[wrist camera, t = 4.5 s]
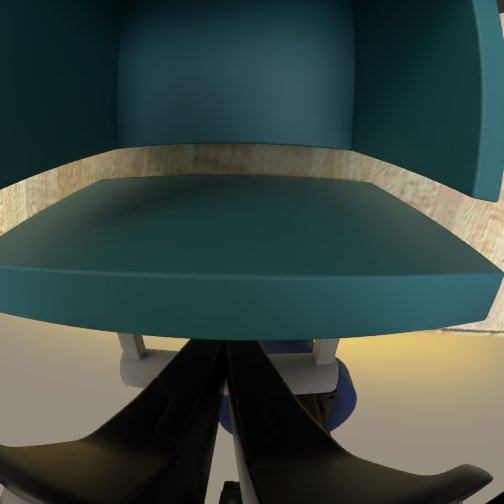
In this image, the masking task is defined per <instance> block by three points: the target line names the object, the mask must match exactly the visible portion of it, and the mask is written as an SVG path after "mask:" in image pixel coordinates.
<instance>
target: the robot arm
mask: <svg viewBox="0 0 504 504" xmlns="http://www.w3.org/2000/svg"><path fill="white" fill-rule="evenodd" d="M226 375H227V389H228V398H229V406H230V415H231V423H232V431H233V439H234V446H235V453H236V461H237V468H238V475H239V481H240V482H234V481H225V483H224V487H223V491H222V492H221V496H220V500H219V504H463V503H462V501H464V500H465V499H467V498H468V497H470V496H471V495H473V494H474V493H476V492H477V491H479V490H480V489H482V488H483V487H485V486H486V485H487V484H489V483H490V482H491V481H492V480H493V477H492V476H491V475H490V474H489V473H488V472H486V471H485V470H483V469H481V468H479V467H476V466H473V465H469V464H463V465H460V466H458V467H455V468H453V469H451V470H449V471H447V472H444V473H441V474H438V475H416V474H411V473H408V472H404V471H400V470H396V469H393V468H390V467H386V466H383V465H380V464H376V463H373V462H370V461H367V460H364V459H361V458H358V457H356V456H354V455H352V454H351V453H349V452H348V451H346V450H345V449H344V448H342V447H341V446H340V445H339V444H338V443H337V442H336V441H335V440H334V439H333V438H332V437H331V434H330V429H329V425H328V420H329V417H330V415H331V413H332V410H333V408H334V405H335V403H336V400H337V398H338V393H337V391H336V390H334V391H332V392H324V393H311V394H293V393H292V391H291V390H290V388H289V387H288V385H287V384H286V382H284V380H283V378H282V377H281V375H280V374H279V372H278V370H277V369H276V367H275V366H274V364H273V363H272V361H271V360H270V358H269V357H268V355H267V354H266V352H265V351H264V349H263V347H262V346H261V344H260V343H259V341H251V340H209V339H190V340H189V341H188V342H187V343H186V344H185V345H184V347H183V348H182V349H181V350H180V351H179V352H178V353H177V354H176V355H175V356H174V358H173V359H172V360H171V361H170V362H169V363H168V364H167V365H166V366H165V367H164V369H163V370H162V371H161V372H160V373H159V374H158V375H157V377H155V378H154V379H153V380H152V382H151V383H150V384H149V385H148V386H147V387H146V388H145V389H144V390H143V391H142V392H141V393H140V394H139V395H138V396H137V397H136V398H134V399H133V400H132V401H131V402H130V403H129V404H128V405H127V406H125V407H124V408H123V409H122V410H121V411H120V412H118V413H117V414H116V415H115V416H113V417H112V418H111V419H110V420H108V421H107V422H106V423H105V424H104V425H102V426H101V427H100V428H99V429H97V430H96V431H94V432H93V433H92V434H90V435H88V436H86V437H84V438H82V439H79V440H75V441H70V442H62V443H55V444H47V445H37V446H26V447H8V446H3V445H0V484H2V485H3V486H4V489H3V491H2V494H1V497H0V504H204V503H205V501H204V500H205V496H206V491H207V485H208V480H209V474H210V468H211V463H212V457H213V452H214V446H215V440H216V435H217V429H218V423H219V418H220V412H221V407H222V401H223V395H224V390H225V384H226ZM485 504H504V491H503V492H502V493H501V494H499V495H498V496H496V497H495V498H493V499H492V500H490V501H489V502H487V503H485Z"/></svg>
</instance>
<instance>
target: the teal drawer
mask: <svg viewBox="0 0 504 504" xmlns="http://www.w3.org/2000/svg"><path fill="white" fill-rule="evenodd" d="M210 143H243V144H276V145H294V146H308V147H321V148H331V149H341V150H350V151H354V152H357V153H361V154H364V155H367V156H370V157H373V158H376V159H379V160H382V161H385V162H387V163H390V164H393V165H396V166H398V167H401V168H404V169H407V170H409V171H412V172H414V173H417V174H419V175H422V176H424V177H427V178H429V179H432V180H434V181H436V182H439V183H441V184H443V185H446V186H448V187H450V188H452V189H455V190H457V191H459V192H461V193H463V194H465V195H468V196H470V197H472V198H475V199H480V200H485V201H490V202H498V199H499V194H500V189H501V183H502V177H503V170H504V38H503V31H502V26H501V20H500V15H499V10H498V6H497V2H496V0H0V190H1V189H3V188H5V187H8V186H10V185H12V184H15V183H17V182H20V181H22V180H24V179H27V178H30V177H32V176H35V175H37V174H40V173H43V172H45V171H48V170H51V169H54V168H57V167H59V166H62V165H65V164H68V163H71V162H74V161H78V160H81V159H84V158H87V157H91V156H94V155H97V154H101V153H104V152H108V151H112V150H115V149H122V148H133V147H145V146H159V145H177V144H210ZM503 277H504V272H503V271H502V270H501V269H499V268H498V267H497V266H496V265H494V264H493V263H492V262H491V261H489V260H488V259H487V258H485V257H484V256H483V255H482V254H480V253H479V252H478V251H476V250H475V249H474V248H472V247H471V246H470V245H468V244H467V243H465V242H464V241H463V240H461V239H460V238H458V237H457V236H456V235H454V234H453V233H451V232H450V231H448V230H447V229H446V228H444V227H443V226H441V225H440V224H438V223H437V222H435V221H434V220H432V219H431V218H429V217H427V216H426V215H424V214H423V213H421V212H420V211H418V210H416V209H415V208H413V207H412V206H410V205H408V204H407V203H405V202H403V201H402V200H400V199H398V198H397V197H395V196H393V195H392V194H390V193H388V192H386V191H385V190H383V189H381V188H379V187H378V186H376V185H374V184H372V183H369V182H358V181H347V180H335V179H321V178H306V177H286V176H258V175H180V176H152V177H133V178H117V179H104V180H99V181H97V182H95V183H93V184H91V185H89V186H87V187H85V188H83V189H81V190H79V191H77V192H75V193H73V194H71V195H69V196H67V197H65V198H64V199H62V200H60V201H58V202H56V203H54V204H53V205H51V206H49V207H47V208H46V209H44V210H42V211H40V212H39V213H37V214H35V215H33V216H32V217H30V218H28V219H27V220H25V221H24V222H22V223H20V224H19V225H17V226H16V227H14V228H12V229H11V230H9V231H8V232H6V233H5V234H3V235H2V236H0V312H1V313H5V314H9V315H14V316H18V317H23V318H29V319H33V320H38V321H44V322H49V323H55V324H61V325H67V326H73V327H80V328H86V329H94V330H101V331H109V332H117V334H118V337H119V341H120V344H121V347H122V349H123V353H122V356H121V361H120V374H121V378H122V381H123V383H124V384H125V385H127V386H132V387H139V388H146V387H147V386H148V385H149V384H150V383H151V382H152V380H153V379H154V378H155V377H157V375H158V374H159V373H160V372H161V371H162V370H163V369H164V367H165V366H166V365H167V364H168V363H169V362H170V361H171V360H172V359H173V358H174V356H175V355H176V354H177V353H178V352H179V351H167V350H156V349H145V345H144V342H143V338H142V335H147V336H159V337H173V338H189V339H209V340H251V341H273V340H314V339H315V342H314V347H313V352H312V353H299V354H267V355H268V357H269V358H270V360H271V361H272V363H273V364H274V366H275V367H276V369H277V370H278V372H279V374H280V375H281V377H282V378H283V380H284V382H286V384H287V385H288V387H289V388H290V390H291V391H292V393H293V394H311V393H324V392H332V391H334V390H335V388H336V385H337V381H338V364H337V360H336V357H335V353H336V350H337V346H338V342H339V339H340V338H350V337H363V336H376V335H387V334H396V333H405V332H414V331H421V330H429V329H436V328H443V327H449V326H455V325H461V324H467V323H473V322H478V321H483V320H485V319H486V317H487V315H488V313H489V311H490V309H491V306H492V304H493V302H494V299H495V297H496V295H497V292H498V290H499V287H500V285H501V282H502V279H503ZM224 395H228V389H227V375H226V384H225V390H224Z"/></svg>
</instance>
